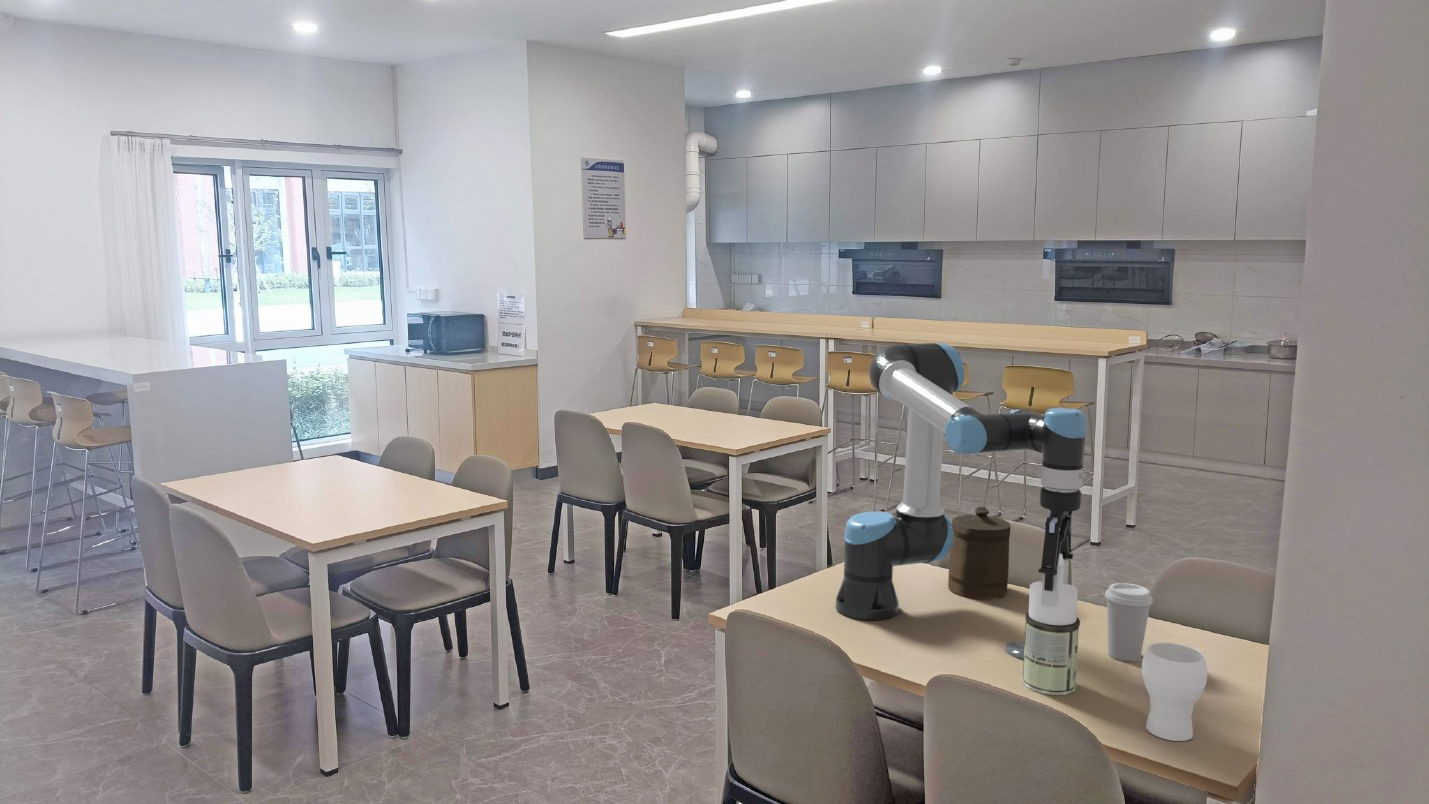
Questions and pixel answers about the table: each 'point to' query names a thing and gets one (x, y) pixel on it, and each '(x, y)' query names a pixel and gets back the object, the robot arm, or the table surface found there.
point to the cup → (1173, 688)
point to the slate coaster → (1016, 649)
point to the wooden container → (979, 556)
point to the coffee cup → (1127, 620)
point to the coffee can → (1050, 657)
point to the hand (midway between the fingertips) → (1053, 597)
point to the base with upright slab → (1064, 601)
